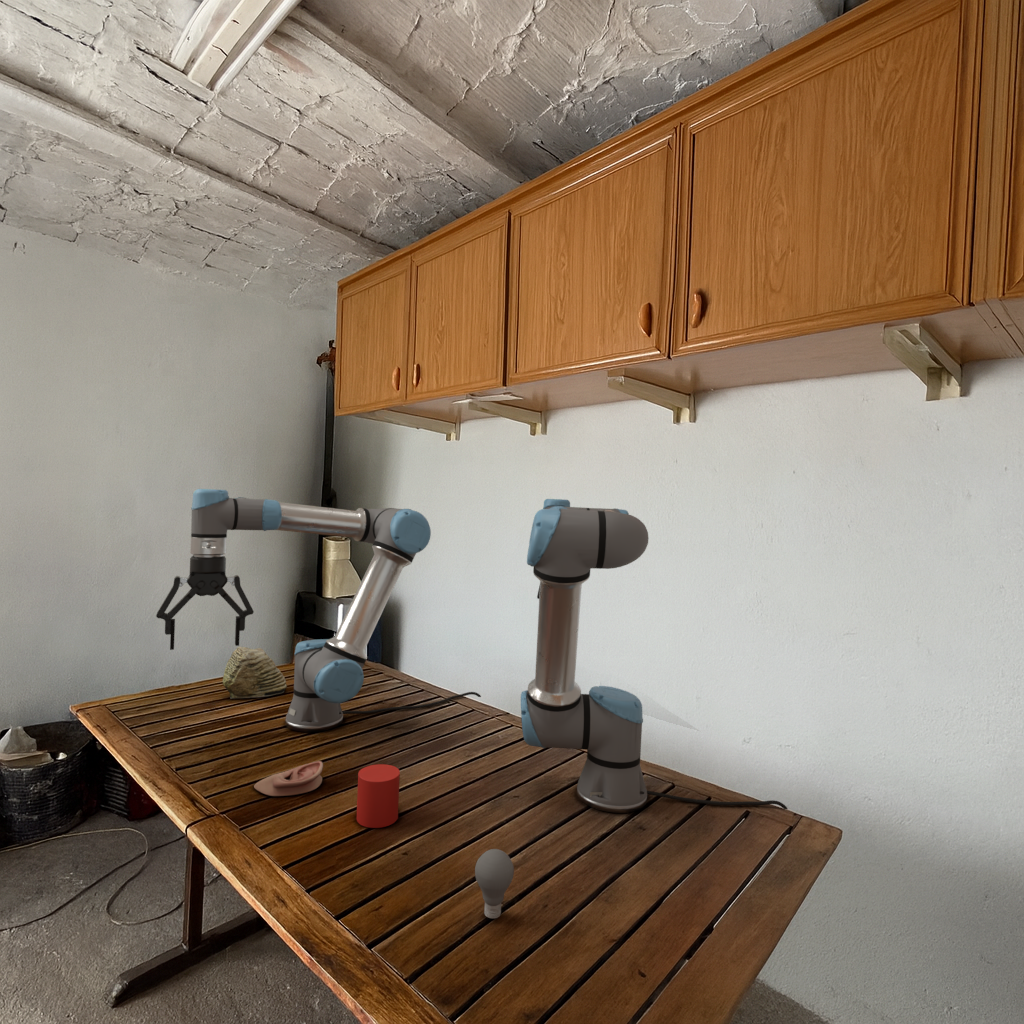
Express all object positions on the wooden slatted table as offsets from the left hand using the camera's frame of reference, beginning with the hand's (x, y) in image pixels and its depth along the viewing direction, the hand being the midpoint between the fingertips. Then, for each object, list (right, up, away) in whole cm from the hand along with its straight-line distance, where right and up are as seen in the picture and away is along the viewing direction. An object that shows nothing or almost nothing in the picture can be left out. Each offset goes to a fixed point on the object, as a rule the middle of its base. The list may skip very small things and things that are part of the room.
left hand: (205, 646), depth 147 cm
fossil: (-9, -26, +51) cm, 58 cm away
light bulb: (+68, -31, -50) cm, 90 cm away
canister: (+45, -30, -21) cm, 58 cm away
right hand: (+82, -2, +30) cm, 88 cm away
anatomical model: (+23, -28, -9) cm, 37 cm away
